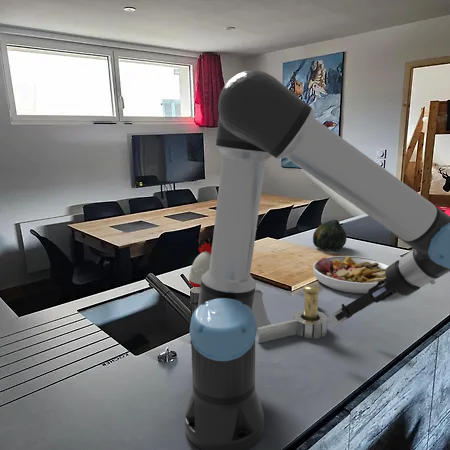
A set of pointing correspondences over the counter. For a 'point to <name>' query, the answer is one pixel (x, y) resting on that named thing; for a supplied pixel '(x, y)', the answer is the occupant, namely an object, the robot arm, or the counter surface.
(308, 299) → the hinge pin
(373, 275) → the bowl
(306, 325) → the hinge
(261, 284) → the counter surface
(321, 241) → the squash
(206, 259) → the kitchen timer
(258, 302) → the flask
